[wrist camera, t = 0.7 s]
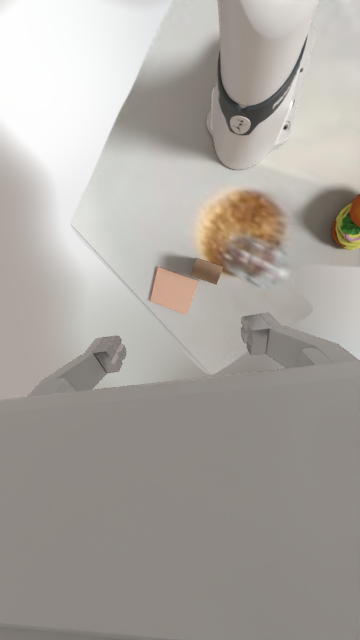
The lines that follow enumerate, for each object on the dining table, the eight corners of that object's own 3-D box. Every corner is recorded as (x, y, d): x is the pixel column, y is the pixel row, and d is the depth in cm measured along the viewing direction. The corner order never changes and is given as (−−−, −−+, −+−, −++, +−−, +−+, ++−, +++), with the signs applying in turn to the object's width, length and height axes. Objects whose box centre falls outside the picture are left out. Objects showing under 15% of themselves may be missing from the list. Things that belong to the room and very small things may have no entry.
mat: (159, 266, 50) (157, 266, 49) (198, 280, 48) (198, 281, 48) (151, 300, 55) (150, 300, 54) (187, 314, 53) (186, 314, 52)
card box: (201, 259, 46) (196, 258, 38) (223, 266, 45) (223, 266, 37) (196, 273, 48) (190, 275, 40) (217, 281, 47) (216, 284, 39)
